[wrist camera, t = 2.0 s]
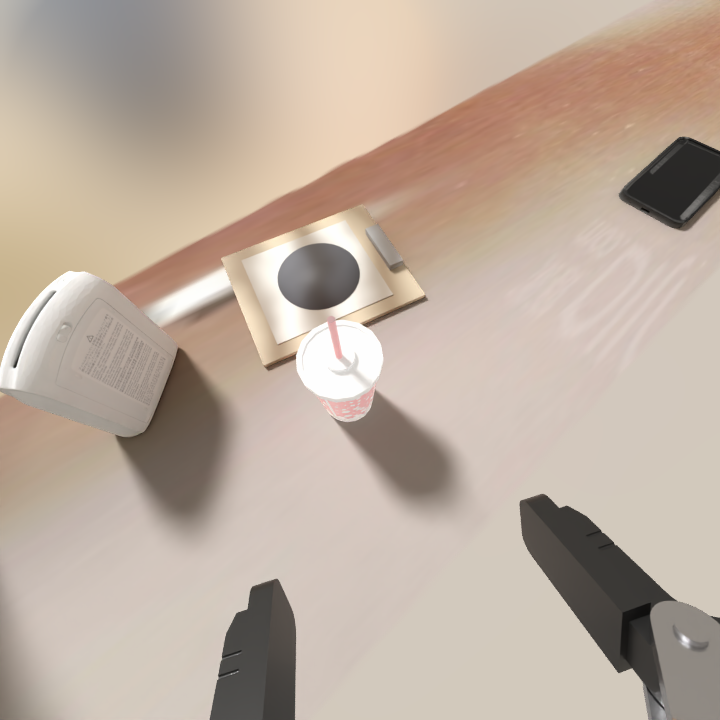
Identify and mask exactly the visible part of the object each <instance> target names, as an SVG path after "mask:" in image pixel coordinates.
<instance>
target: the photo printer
mask: <svg viewBox="0 0 720 720" xmlns="http://www.w3.org/2000/svg"><path fill="white" fill-rule="evenodd" d="M177 349H178V345H177V343H176V342H175V341H174V340H173V339H172V338H171V337H170V336H169V335H168V334H166V333H165V332H164V331H163V330H162V329H161V328H160V327H159V326H158V325H156V324H155V323H154V322H153V321H152V320H151V319H150V318H149V317H147V316H146V315H145V314H144V313H143V312H142V311H141V310H140V309H139V308H137V307H136V306H135V305H134V304H133V303H132V302H131V301H130V300H129V299H128V298H126V297H125V296H124V295H123V294H122V293H121V292H120V291H119V290H118V289H116V288H115V287H114V286H113V285H111V284H110V283H108V282H107V281H105V280H103V279H101V278H99V277H97V276H95V275H92V274H90V273H87V272H72V271H68V272H66V273H65V274H63V275H62V276H60V277H59V278H57V279H56V280H55V281H54V282H52V283H51V284H50V285H49V286H48V287H47V288H46V289H45V290H44V291H43V292H42V293H41V294H40V295H39V296H38V297H37V298H36V299H35V301H34V302H33V303H32V304H31V306H30V307H29V308H28V310H27V311H26V312H25V314H24V315H23V317H22V318H21V320H20V322H19V323H18V325H17V327H16V329H15V331H14V332H13V334H12V337H11V339H10V341H9V343H8V346H7V349H6V351H5V353H4V357H3V360H2V363H1V367H0V391H1V392H2V393H4V394H7V395H9V396H12V397H15V398H16V399H17V400H19V401H20V402H22V403H24V404H26V405H29V406H32V407H35V408H38V409H41V410H44V411H47V412H49V413H52V414H55V415H58V416H61V417H64V418H67V419H70V420H73V421H76V422H79V423H82V424H85V425H88V426H91V427H94V428H97V429H100V430H103V431H106V432H109V433H112V434H115V435H118V436H122V437H132V436H136V435H138V434H140V433H143V432H144V431H145V430H146V428H147V427H148V425H149V423H150V421H151V419H152V417H153V415H154V412H155V410H156V407H157V405H158V402H159V400H160V397H161V395H162V392H163V389H164V387H165V384H166V382H167V379H168V376H169V374H170V371H171V369H172V366H173V363H174V360H175V357H176V353H177Z"/></svg>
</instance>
